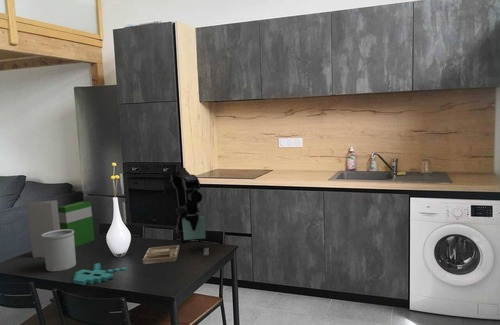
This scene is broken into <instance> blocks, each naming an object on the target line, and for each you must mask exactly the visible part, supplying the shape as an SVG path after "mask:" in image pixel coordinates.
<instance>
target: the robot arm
mask: <svg viewBox="0 0 500 325" xmlns="http://www.w3.org/2000/svg"><path fill="white" fill-rule="evenodd" d="M170 182H171V184H172V187H173V188H174V189H175V191H176V193H175V194H176V199H177V206H178V207H177V208H176V209H175V214H176V215H177V219H176V226H175V232H176V234H178V235H179V242H180V243H181V244H187V243H190V242H191V241H192V239H191V240H184V236H183V224H182V218H186V221H190V223H191V226H192V230H193V231H195V229H196V225H197V222H198V219H199V217H198V216H200V212H201V211H200V208H199V206H198V204H199V203H200V202H202V200H203V195H202V193H201V192H200V191H199V190H201V187H202V186H201V182H200V180H199V178H198V177H197V175H195V174H192V173H189V172H188V170H187V169H186V167H183V166H182V167H177V168H175V170H174V171H173V172H171V175H170Z"/></svg>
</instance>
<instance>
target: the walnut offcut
mask: <svg viewBox="0 0 500 325" xmlns="http://www.w3.org/2000/svg"><path fill="white" fill-rule="evenodd" d="M148 257H149V259H153V258H164V257H170V253H169V254H167V255H153V256H152V253H151V254H149V256H148Z"/></svg>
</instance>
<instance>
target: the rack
mask: <svg viewBox="0 0 500 325" xmlns="http://www.w3.org/2000/svg"><path fill="white" fill-rule="evenodd" d="M162 249H170V254H173V257H164V258H153V259H148V256H149V254H151V253H152V252H153V250H162ZM180 249H181V248H180V244H177V245H175V244H174V245H167V246H166V245H165V246H156V247H154V246H153V247H149V248H148V249H147V251H146V252H145V254H144V255H143V256H144V257H143V258H142V265H148V264H150V265H151V264H161V263H170V262H171V263H172V262H177V260H178V255H179V253H180Z"/></svg>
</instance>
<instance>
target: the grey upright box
mask: <svg viewBox="0 0 500 325" xmlns="http://www.w3.org/2000/svg"><path fill="white" fill-rule="evenodd" d="M58 207H59V206H58V200H42V201H41V200H40V201H32V202H30V203H26V212H27V219H28V220H27V221H28V228H29V236H30V243H31V244H30V245H31V253H32V258H33V259H38V257H41V258H45V256H44V249H43V240H42V237H41V235H42V234H44V233H47V232H50V231H55V230H60V224H59V215H58Z"/></svg>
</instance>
